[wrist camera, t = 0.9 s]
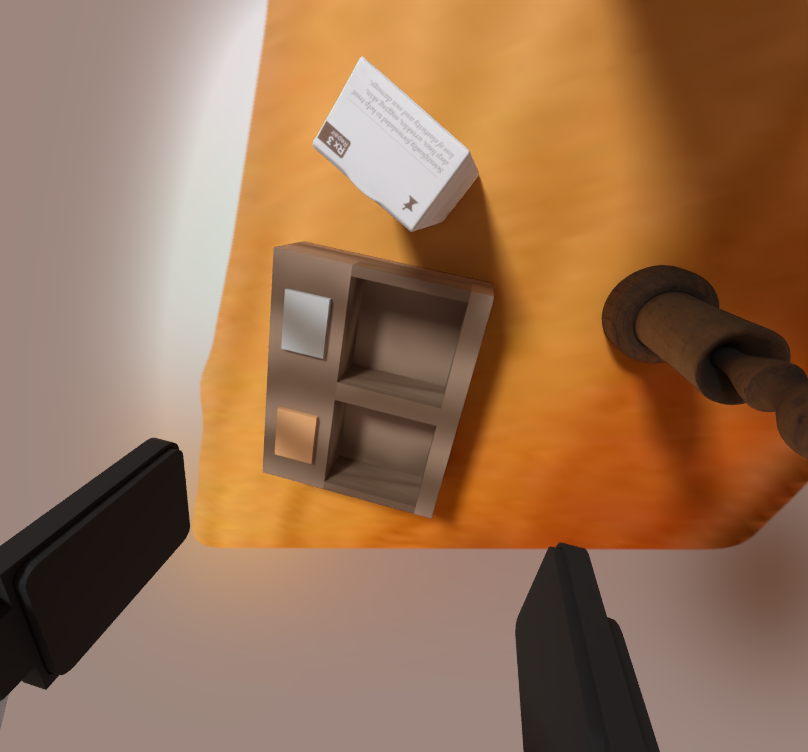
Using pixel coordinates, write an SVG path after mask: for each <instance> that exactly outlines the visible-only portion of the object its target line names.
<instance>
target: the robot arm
mask: <svg viewBox="0 0 808 752" xmlns="http://www.w3.org/2000/svg"><path fill="white" fill-rule="evenodd" d="M189 521H190V520H189V510H188V500H187V490H186V479H185V470H184V459H183V453H182V451H180V450H179V447H178V445H177V444H176V443H173V442H169V441H165V440H161V439H157V438H151V439H149V440H147V441H145V442H144V443H142V444H141V445H140V446H138V447H137V448H135V449H134V450H133V451H131V452H130V453H129V454H127V455H126V456H124V457H123V458H122V459H120V460H119V461H117V462H116V463H115V464H113V465H112V466H110V467H109V468H108V469H106V470H105V471H104V472H102V473H101V474H99V475H98V476H97V477H95V478H94V479H92V480H91V481H90V482H88V483H87V484H86V485H84V486H83V487H81V488H80V489H79V490H78V491H76V492H74V493H73V494H72V495H70V496H69V497H67V498H66V499H65V500H63V501H62V502H61V503H59V504H58V505H56V506H55V507H54V508H52V509H51V510H49V512H47V513H45V514H44V515H42V516H41V517H40V518H38V519H37V520H36V521H34V522H33V523H32V524H30V525H29V526H27V527H26V528H25V529H23V530H22V531H20V532H19V533H18V534H16V535H15V536H13V537H12V538H11V539H9V540H8V541H7V542H5V543H4V544H2V545H1V546H0V728H1V724H2V720H3V716H4V712H5V707H6V703H7V699H8V695H9V693H10V692H11V691H12V690H13V689H14V688H15V687H16V686H17V685H18V684H19V683H20V681H23V682H25V683H28V684H30V685H33V686H36V687H39V688H42V689H45V690H46V689H47V688H48V687H49V686H50V685H51V684H52V682H54V680H55V679H56V678H57V677H58V676H59V675H63V674H65V673H67V672H68V671H70V670H71V669H72V668H73V667H74V666H75V665H76V664H77V662H78V661H79V660H80V659H81V658H82V657H83V656H84V654H85V653H86V652H87V651H88V650H89V649H90V648H91V647H92V645H93V644H94V643H95V642H96V641H97V640H98V639H99V637H100V636H101V635H102V634H103V633H104V632H105V631H106V629H107V628H108V627H109V626H110V625H111V624H112V623H113V621H114V620H115V619H116V618H117V617H118V616H119V615H120V613H121V612H122V611H123V610H124V609H125V608H126V606H127V605H128V604H129V603H130V602H131V601H132V600H133V598H134V597H135V596H136V595H137V594H138V593H139V592H140V590H141V589H142V588H143V587H144V586H145V585H146V584H147V582H148V581H149V580H150V579H151V578H152V577H153V576H154V574H155V573H156V572H157V571H158V570H159V569H160V568H161V566H162V565H163V564H164V563H165V562H166V561H167V560H168V558H169V557H170V556H171V555H172V554H173V553H174V551H175V550H176V549H177V548H178V547H179V546H180V545H181V544H182V542H183V541H184V540H185V539H186V537H187V535H188V533H189V529H190V522H189ZM515 636H516V649H517V664H518V677H519V692H520V706H521V721H522V735H523V749H524V752H660V751H659V748H658V744H657V742H656V738H655V735H654V732H653V729H652V726H651V722H650V719H649V716H648V713H647V710H646V706H645V703H644V700H643V697H642V694H641V691H640V688H639V685H638V681H637V678H636V675H635V672H634V668H633V665H632V662H631V659H630V656H629V653H628V650H627V646H626V643H625V640H624V637H623V634H622V631H621V629H620V627H619V625H618V624H617V622H616V621H615V620H613V619H611V618H608V617H607V615H606V612H605V609H604V605H603V602H602V598H601V595H600V591H599V588H598V585H597V581H596V578H595V574H594V571H593V567H592V564H591V561H590V557H589V554H588V552H587V550H586V549H584V548H580V547H577V546H573V545H569V544H565V543H559V544H558V545H557V546H556V548H555V547H549V548H548V550H547V552H546V554H545V557H544V559H543V561H542V564H541V566H540V568H539V570H538V573H537V575H536V577H535V579H534V582H533V584H532V586H531V588H530V591H529V593H528V595H527V597H526V600H525V602H524V604H523V606H522V609H521V611H520V613H519V615H518V618H517V622H516V630H515Z"/></svg>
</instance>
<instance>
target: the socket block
mask: <svg viewBox="0 0 808 752" xmlns="http://www.w3.org/2000/svg"><path fill="white" fill-rule="evenodd" d="M493 300H494V291H493V284H492V283H489V282H484V281H480V280H475V279H470V278H466V277H461V276H457V275H452V274H448V273H443V272H439V271H434V270H430V269H425V268H421V267H416V266H412V265H407V264H403V263H398V262H394V261H389V260H385V259H380V258H376V257H371V256H367V255H362V254H358V253H353V252H349V251H344V250H340V249H335V248H331V247H326V246H322V245H317V244H313V243H308V242H298V243H293V244H288V245H283V246H278V247H274V254H273V274H272V295H271V315H270V335H269V355H268V376H267V396H266V416H265V436H264V457H263V472H264V473H268V474H271V475H275V476H278V477H282V478H286V479H289V480H293V481H297V482H300V483H304V484H308V485H311V486H315V487H318V488H322V489H326V490H329V491H333V492H337V493H340V494H344V495H347V496H351V497H355V498H358V499H362V500H366V501H369V502H373V503H376V504H380V505H384V506H387V507H391V508H395V509H398V510H402V511H406V512H409V513H413V514H416V515H420V516H424V517H427V518H432V515H433V511H434V508H435V504H436V501H437V497H438V494H439V490H440V486H441V483H442V479H443V476H444V472H445V469H446V465H447V462H448V458H449V455H450V451H451V448H452V444H453V441H454V437H455V434H456V430H457V427H458V423H459V420H460V416H461V413H462V409H463V406H464V402H465V399H466V395H467V392H468V388H469V385H470V381H471V378H472V374H473V371H474V367H475V363H476V360H477V356H478V353H479V349H480V346H481V342H482V339H483V335H484V332H485V328H486V325H487V321H488V318H489V314H490V311H491V307H492V304H493Z"/></svg>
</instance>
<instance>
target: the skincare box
mask: <svg viewBox="0 0 808 752" xmlns="http://www.w3.org/2000/svg"><path fill="white" fill-rule="evenodd" d="M313 147H314V148H315V149H316V150H317V151H318V152H319V153H320V154H322V155H323V156H324V157H325V158H326V159H327V160H329V161H330V162H331V163H332V164H333V165H334V166H335V167H337V168H338V169H339V170H340V171H341V172H342V173H343V174H345V175H346V176H347V177H348V178H349V179H350V180H351V181H352V182H353V184H354V185H355V186H356V187H357V188H358V189H359V190H360V191H362V192H363V193H364V194H365V195H366V196H368V197H369V198H371V199H372V200H374V201H375V202H376V203H378V204H379V205H380V206H381V207H382V208H383V209H385V210H386V211H387V212H388V213H389V214H390V215H391V216H393V217H394V218H395V219H396V220H397V221H399V222H400V223H401V224H402V225H403V226H404V227H406V228H407V229H408V230H409V231H411V232H414V231H416V230H420V229H423V228H426V227H429V226H432V225H435V224H438V223H441V222H443V221H444V220H445V219H446V217H447V216H448V215H449V213H450V212H451V211H452V210H453V208H454V207H455V206H456V205H457V203H458V202H459V201H460V200H461V198H462V197H463V196H464V194H465V193H466V192H467V191H468V189H469V188H470V187H471V185H472V184H473V183H474V181H475V180H476V179H477V177H478V176H479V172H478V169H477V167H476V165H475V163H474V160H473V158H472V157H471V154H470V151H469V150H468V149H467V148H466V147H465V146H464V145H463V144H462V143H460V142H459V141H458V140H457V139H456V138H455V137H454V136H453V135H451V134H450V133H449V132H448V131H447V130H446V129H445V128H443V127H442V126H441V125H440V124H439V123H438V122H437V121H436V120H434V119H433V118H432V117H431V116H430V115H429V114H428V113H427V112H425V111H424V110H423V109H422V108H421V107H420V106H419V105H418V104H416V103H415V102H414V101H413V100H412V99H411V98H410V97H409V96H408V95H406V94H405V93H404V92H403V91H402V90H401V89H400V88H398V87H397V86H396V85H395V84H394V83H393V82H392V81H390V80H389V79H388V78H387V77H386V76H385V75H384V74H382V73H381V72H380V71H379V70H378V69H377V68H375V67H374V66H373V65H372V64H371V63H369V62H368V61H367V60H366V59H365V58H364V57H363V56H362V57H360V59H359V61H358V63H357V65H356V66H355V68H354V70H353V72H352V74H351V76H350V77H349V79H348V81H347V83H346V85H345V86H344V88H343V90H342V92H341V94H340V96H339V97H338V99H337V101H336V103H335V105H334V106H333V108H332V110H331V112H330V113H329V115H328V117H327V119H326V121H325V122H324V124H323V126H322V128H321V129H320V131H319V133H318V135H317V136H316V138H315V140H314V141H313Z"/></svg>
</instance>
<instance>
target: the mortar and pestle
mask: <svg viewBox="0 0 808 752" xmlns="http://www.w3.org/2000/svg"><path fill="white" fill-rule="evenodd" d="M602 324H603V328H604V331H605V333H606V335H607V337H608V338H609V340H610V341H611V342H612V343H613V344H614V345H615V346H616V347H617V348H618V349H619V350H620V351H621V352H623V353H624V354H625V355H627V356H629V357H631V358H633V359H635V360H638V361H642V362H647V363H664V362H667V363H668V364H669V365H670V366H671V367H672V368H674V369H675V370H676V371H677V372H678V373H679V374H681V375H682V376H683V377H684V378H685V379H686V380H687V381H689V382H690V383H691V384H692V385H693V386H694V387H695V388H696V389H698V390H699V391H700V392H701V393H702V394H703V395H704V396H705V397H707V398H708V399H710V400H712V401H715V402H717V403H721V404H726V405H738V404H744V403H747V404H748V405H749V406H750V407H752V408H754V409H756V410H759V411H763V412H775V411H776V422H777V427H778V430H779V433H780V435H781V437H782V439H783V440H784V441H785V443H786V444H787V445H788V446H789V447H790V448H791V449H792V450H794V451H795V452H796V453H798V454H799V455H801V456H803V457H804V458H806V459H808V378H807V375H806V374H805V372H804V371H803V370H802V369H801V368H800V367H798V366H797V365H794V364H792V363H790V349H789V346H788V344H787V342H786V341H785V340H784V338H783V337H782V336H780V335H779V334H778V333H776V332H774V331H772V330H770V329H767V328H765V327H762V326H760V325H757V324H755V323H752V322H750V321H747V320H745V319H742V318H740V317H738V316H735V315H733V314H731V313H728V312H726V311H724V310H721V309H719V300H718V297H717V294H716V292H715V290H714V289H713V287H712V286H711V285H710V284H709V282H707V281H706V280H705V279H704V278H702V277H701V276H699V275H697V274H695V273H692V272H690V271H687V270H684V269H681V268H678V267H674V266H665V265H660V266H652V267H648V268H644V269H642V270H639V271H637V272H635V273H633V274H631V275H629V276H628V277H626V278H625V279H623V280H622V281H621V282H620V283H619V284H618V285H617V286H616V287H615V288H614V289H613V290H612V292H611V293H610V295H609V296H608V298H607V300H606V302H605V305H604V308H603V313H602Z"/></svg>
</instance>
